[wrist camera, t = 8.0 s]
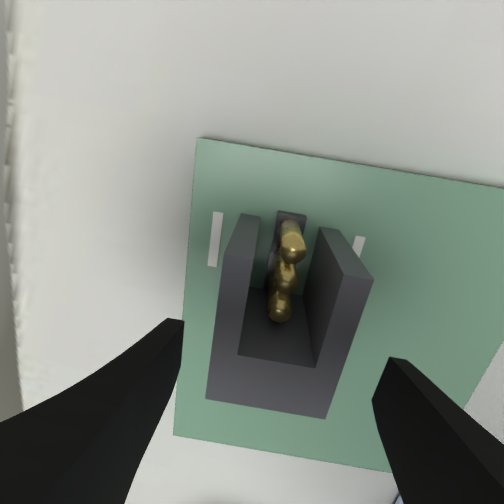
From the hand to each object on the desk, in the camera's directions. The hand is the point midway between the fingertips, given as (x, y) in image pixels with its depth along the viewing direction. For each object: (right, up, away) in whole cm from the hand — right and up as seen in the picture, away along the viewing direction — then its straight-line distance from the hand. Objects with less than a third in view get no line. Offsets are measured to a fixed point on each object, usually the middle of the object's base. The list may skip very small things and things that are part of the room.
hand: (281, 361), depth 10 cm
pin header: (+1, +4, +5) cm, 6 cm away
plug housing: (0, +2, +6) cm, 6 cm away
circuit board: (+4, -1, +8) cm, 9 cm away
